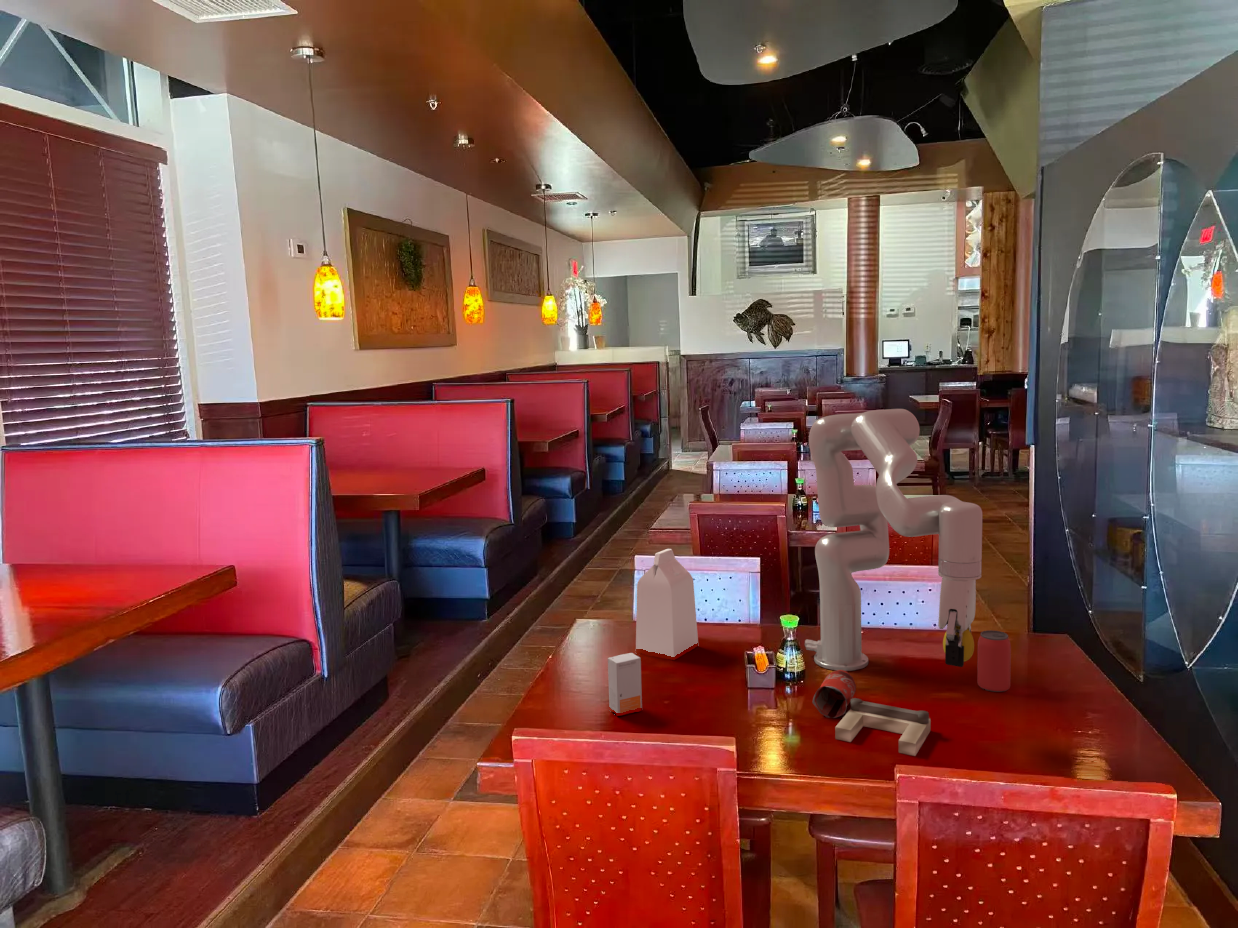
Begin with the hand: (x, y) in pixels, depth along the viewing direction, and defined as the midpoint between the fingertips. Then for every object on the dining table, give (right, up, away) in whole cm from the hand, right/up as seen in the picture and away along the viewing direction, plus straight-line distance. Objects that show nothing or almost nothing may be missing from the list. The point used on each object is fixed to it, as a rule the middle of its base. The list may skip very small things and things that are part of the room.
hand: (958, 658), depth 159 cm
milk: (-52, -11, +55) cm, 77 cm away
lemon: (0, -1, 0) cm, 1 cm away
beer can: (+17, -12, +23) cm, 31 cm away
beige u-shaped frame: (-13, -15, +3) cm, 21 cm away
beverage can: (-19, -14, +17) cm, 29 cm away
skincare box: (-63, -16, +19) cm, 68 cm away
